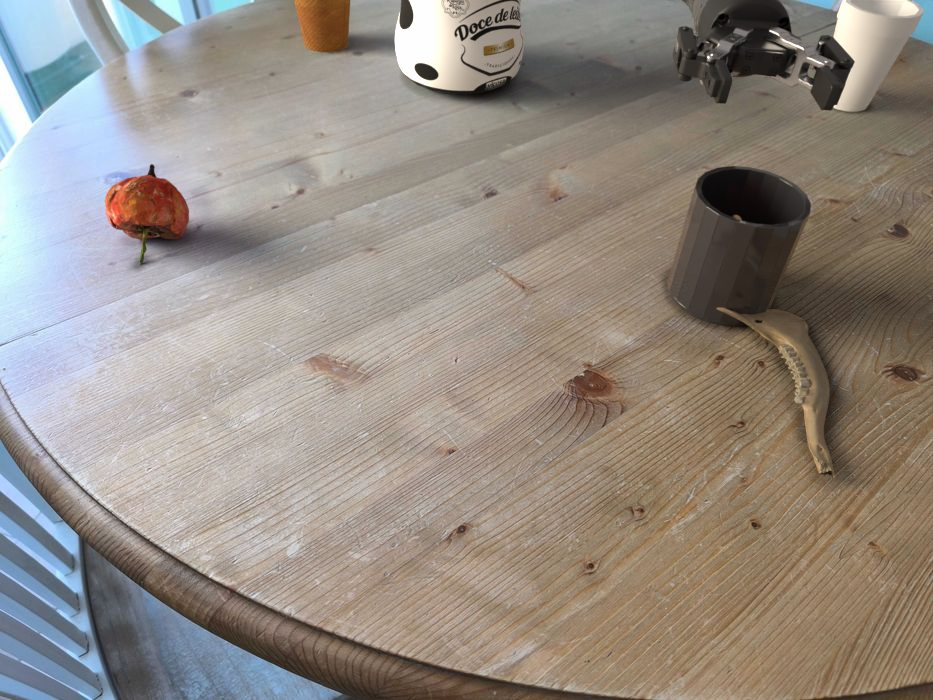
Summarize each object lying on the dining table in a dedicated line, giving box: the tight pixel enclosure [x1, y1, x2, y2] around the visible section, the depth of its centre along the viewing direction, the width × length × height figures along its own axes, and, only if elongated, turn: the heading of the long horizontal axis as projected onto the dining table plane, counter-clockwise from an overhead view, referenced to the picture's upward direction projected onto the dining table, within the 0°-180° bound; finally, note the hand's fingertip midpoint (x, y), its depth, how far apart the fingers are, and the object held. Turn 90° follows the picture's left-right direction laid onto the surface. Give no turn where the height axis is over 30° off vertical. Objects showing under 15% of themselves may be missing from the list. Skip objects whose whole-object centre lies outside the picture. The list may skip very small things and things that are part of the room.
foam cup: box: [832, 0, 925, 113], centre depth 98 cm, size 10×9×13 cm
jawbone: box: [716, 308, 835, 480], centre depth 63 cm, size 9×20×2 cm, turn 15°
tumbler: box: [667, 165, 812, 327], centre depth 68 cm, size 10×10×11 cm
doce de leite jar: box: [394, 0, 525, 95], centre depth 98 cm, size 17×17×18 cm
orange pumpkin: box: [104, 163, 190, 266], centre depth 72 cm, size 7×7×10 cm
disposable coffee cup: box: [294, 0, 351, 53], centre depth 106 cm, size 10×10×12 cm
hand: (778, 96), depth 60 cm, fingers open, 8 cm apart
